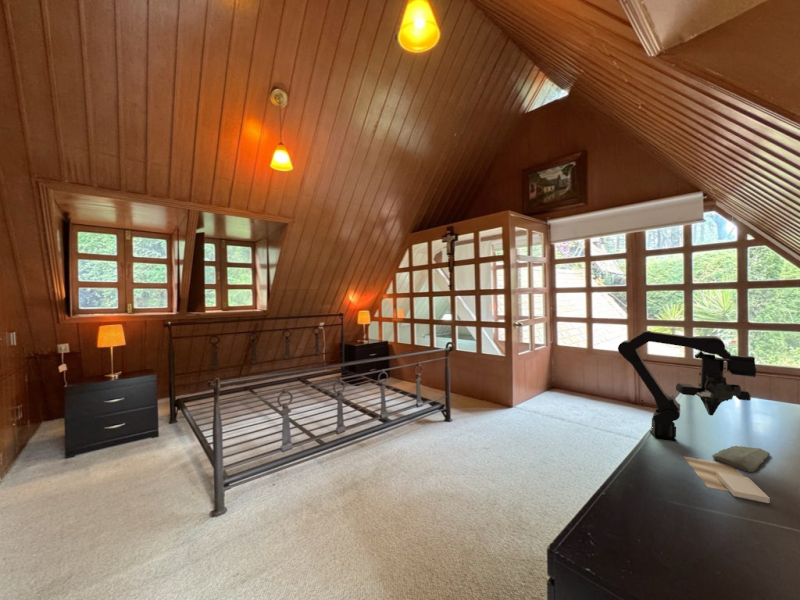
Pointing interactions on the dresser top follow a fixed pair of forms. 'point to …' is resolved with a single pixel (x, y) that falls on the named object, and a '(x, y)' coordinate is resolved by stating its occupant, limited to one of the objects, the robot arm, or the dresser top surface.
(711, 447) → the dresser top surface
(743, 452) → the stone slab
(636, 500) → the dresser top surface
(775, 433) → the dresser top surface
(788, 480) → the dresser top surface
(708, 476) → the tan wooden board
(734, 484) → the glazed tile
